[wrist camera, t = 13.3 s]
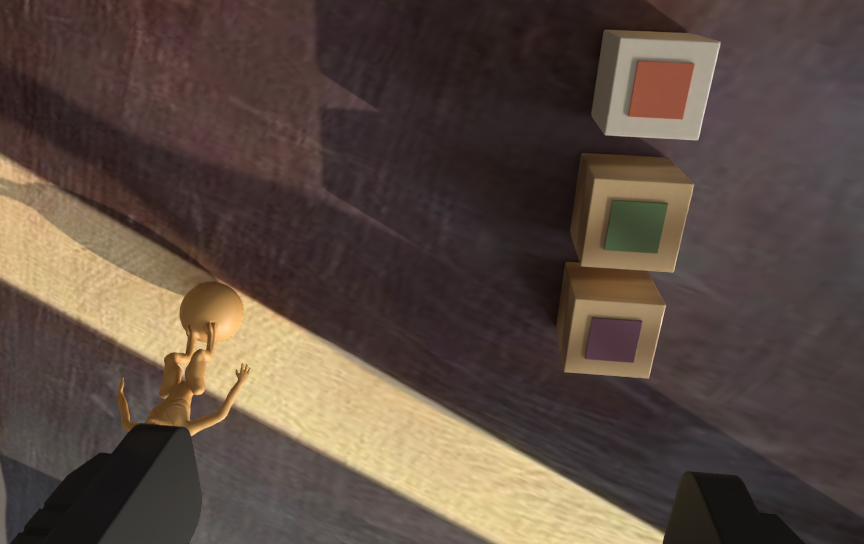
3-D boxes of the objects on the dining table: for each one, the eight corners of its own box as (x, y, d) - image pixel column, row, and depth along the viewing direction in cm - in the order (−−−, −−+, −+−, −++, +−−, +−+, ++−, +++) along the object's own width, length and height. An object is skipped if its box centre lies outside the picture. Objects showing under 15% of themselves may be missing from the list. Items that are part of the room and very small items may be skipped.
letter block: (603, 29, 32) (620, 37, 28) (691, 33, 32) (722, 41, 28) (590, 116, 34) (604, 135, 30) (673, 120, 34) (699, 141, 30)
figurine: (272, 264, 40) (193, 369, 30) (297, 340, 43) (233, 463, 32) (158, 280, 42) (43, 386, 31) (189, 353, 44) (93, 475, 33)
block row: (622, -135, 29) (647, -155, 25) (729, -132, 29) (773, -151, 24) (555, 328, 41) (563, 373, 36) (631, 334, 40) (649, 379, 36)
